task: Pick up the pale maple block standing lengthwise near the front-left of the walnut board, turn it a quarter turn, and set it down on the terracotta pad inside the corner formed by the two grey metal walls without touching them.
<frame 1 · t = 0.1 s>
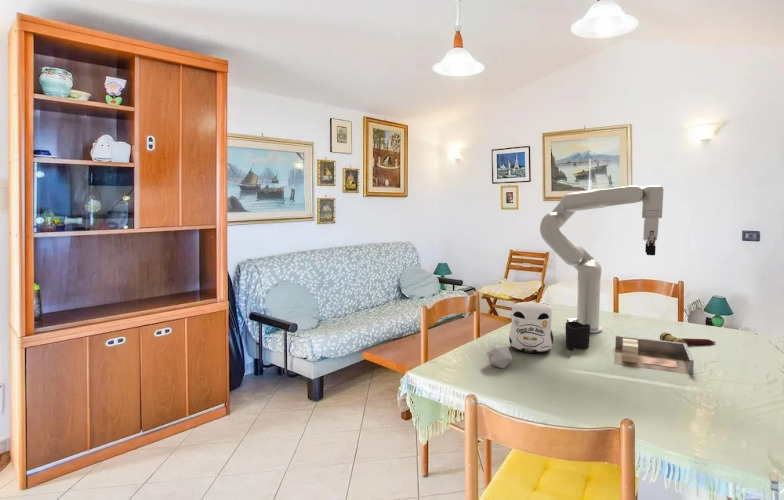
hand: (650, 253, 195), 37 cm above the table, tool pointing down, fingers open, 9 cm apart
pen holder: (577, 348, 184), on the table
gavel: (690, 346, 186), on the table
metal walls: (651, 353, 167), on the walnut board, point 4 cm above the table
walnut board: (650, 362, 167), on the table
die: (499, 366, 166), on the table
maple block: (629, 357, 169), point 1 cm above the table, touching walnut board
milk container: (530, 349, 184), on the table
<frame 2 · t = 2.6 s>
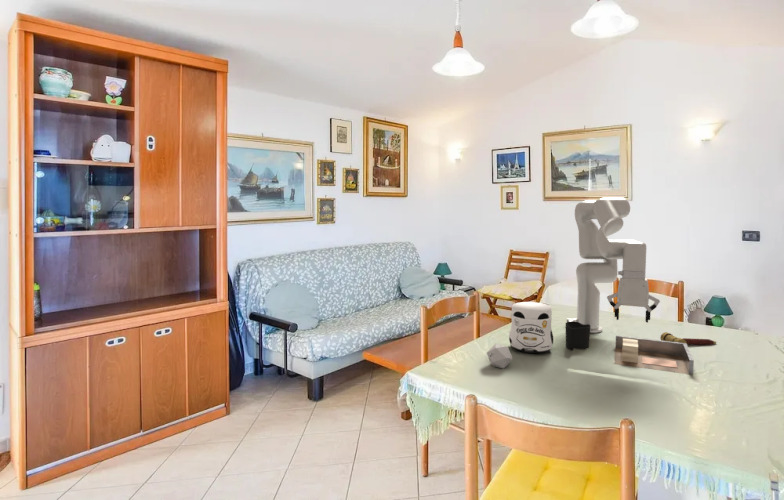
hand: (631, 320, 167), 16 cm above the table, tool pointing down, fingers open, 9 cm apart
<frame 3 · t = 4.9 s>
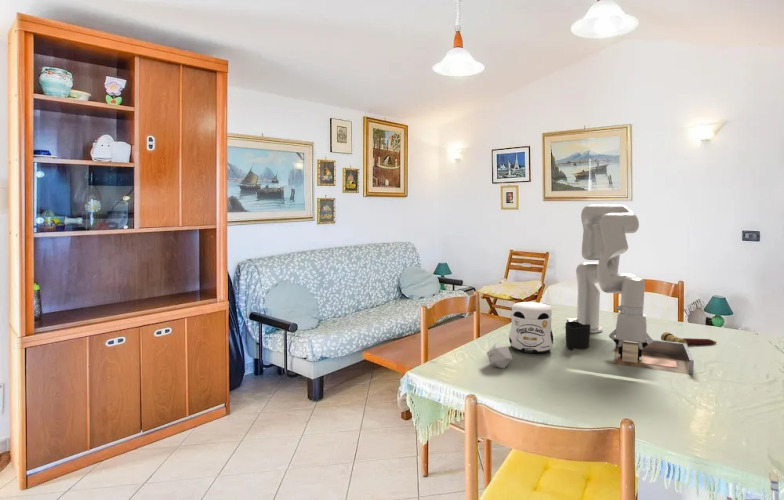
hand: (629, 356, 169), 1 cm above the table, tool pointing down, fingers closed on maple block, 5 cm apart
maple block: (629, 357, 169), point 1 cm above the table, touching gripper, walnut board
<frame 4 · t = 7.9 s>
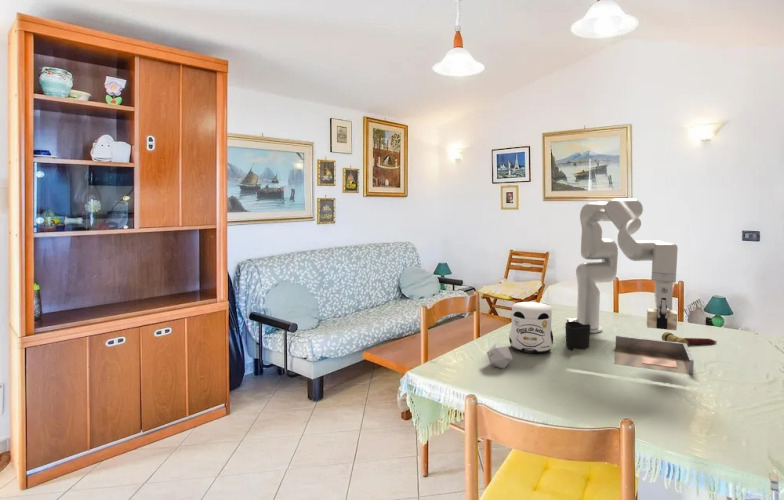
hand: (661, 326, 162), 15 cm above the table, tool pointing down, fingers closed on maple block, 5 cm apart
maple block: (661, 327, 162), point 14 cm above the table, touching gripper
when the fingers open (3 cm above the table, at t = 10.7 s): maple block stays where it is, resting on walnut board.
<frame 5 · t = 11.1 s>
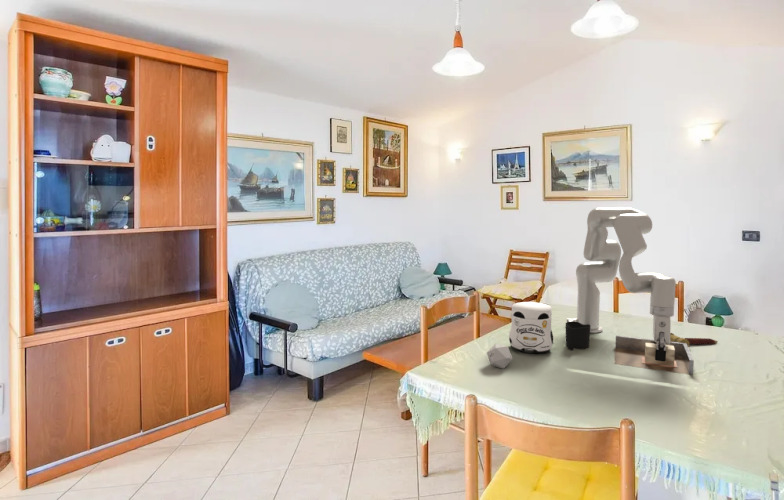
hand: (659, 356, 164), 3 cm above the table, tool pointing down, fingers open, 8 cm apart
maple block: (658, 362, 164), point 1 cm above the table, touching walnut board
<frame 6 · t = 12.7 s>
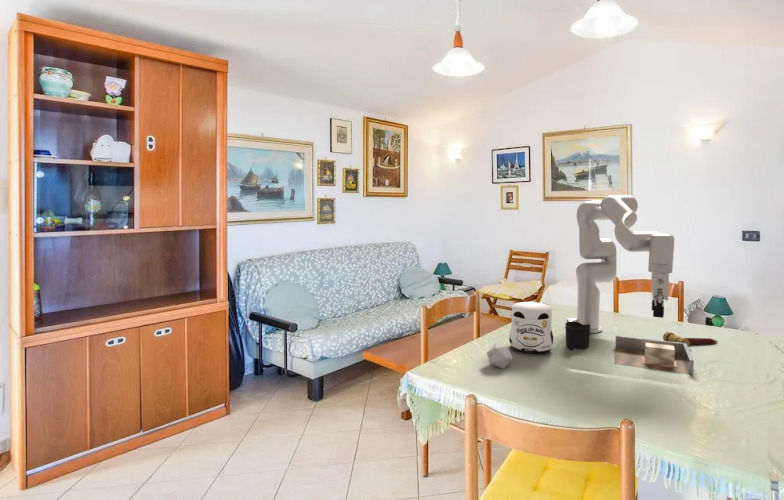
hand: (657, 313, 165), 19 cm above the table, tool pointing down, fingers open, 9 cm apart
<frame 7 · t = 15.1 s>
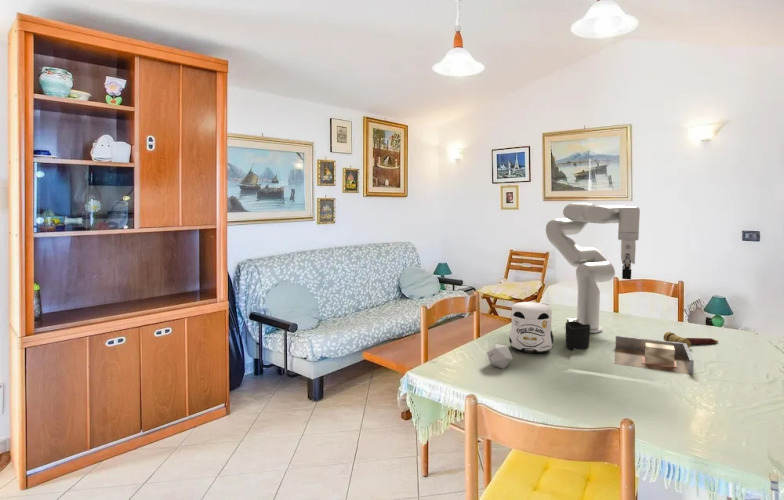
hand: (626, 277, 186), 28 cm above the table, tool pointing down, fingers open, 9 cm apart
at the end: maple block 0.1 cm from the target spot on the walnut board, point 1.2 cm above the walnut board's base; maple block tilted 0°; maple block touching walnut board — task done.
